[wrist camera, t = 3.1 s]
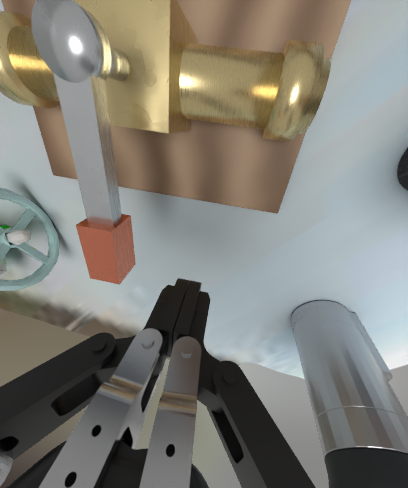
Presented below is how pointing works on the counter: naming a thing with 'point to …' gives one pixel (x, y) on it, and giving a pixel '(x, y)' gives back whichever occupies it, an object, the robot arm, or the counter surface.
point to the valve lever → (87, 129)
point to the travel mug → (403, 170)
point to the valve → (16, 236)
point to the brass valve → (175, 73)
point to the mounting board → (208, 133)
